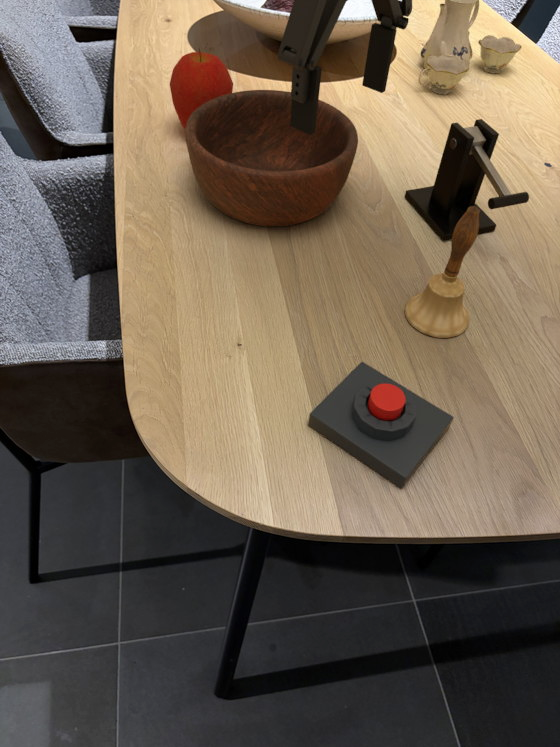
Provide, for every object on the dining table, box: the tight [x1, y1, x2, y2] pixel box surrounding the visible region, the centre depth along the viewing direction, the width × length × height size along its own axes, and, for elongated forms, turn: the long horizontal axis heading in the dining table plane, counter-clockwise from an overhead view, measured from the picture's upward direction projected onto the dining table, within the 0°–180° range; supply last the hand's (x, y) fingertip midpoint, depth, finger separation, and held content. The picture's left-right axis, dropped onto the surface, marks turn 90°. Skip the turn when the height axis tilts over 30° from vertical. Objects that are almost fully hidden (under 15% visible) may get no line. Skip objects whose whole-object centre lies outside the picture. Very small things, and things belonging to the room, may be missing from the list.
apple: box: [169, 47, 234, 129], centre depth 100 cm, size 10×10×14 cm
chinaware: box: [418, 0, 522, 95], centre depth 121 cm, size 28×17×17 cm, turn 136°
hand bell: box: [404, 206, 480, 339], centre depth 72 cm, size 8×8×16 cm
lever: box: [463, 125, 530, 210], centre depth 82 cm, size 13×6×2 cm, turn 21°
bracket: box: [404, 118, 500, 243], centre depth 88 cm, size 12×9×14 cm
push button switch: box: [307, 361, 455, 490], centre depth 64 cm, size 12×10×4 cm
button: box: [368, 384, 405, 421], centre depth 62 cm, size 4×4×2 cm
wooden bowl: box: [184, 89, 359, 227], centre depth 91 cm, size 25×25×10 cm
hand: (339, 108), depth 66 cm, fingers open, 13 cm apart
